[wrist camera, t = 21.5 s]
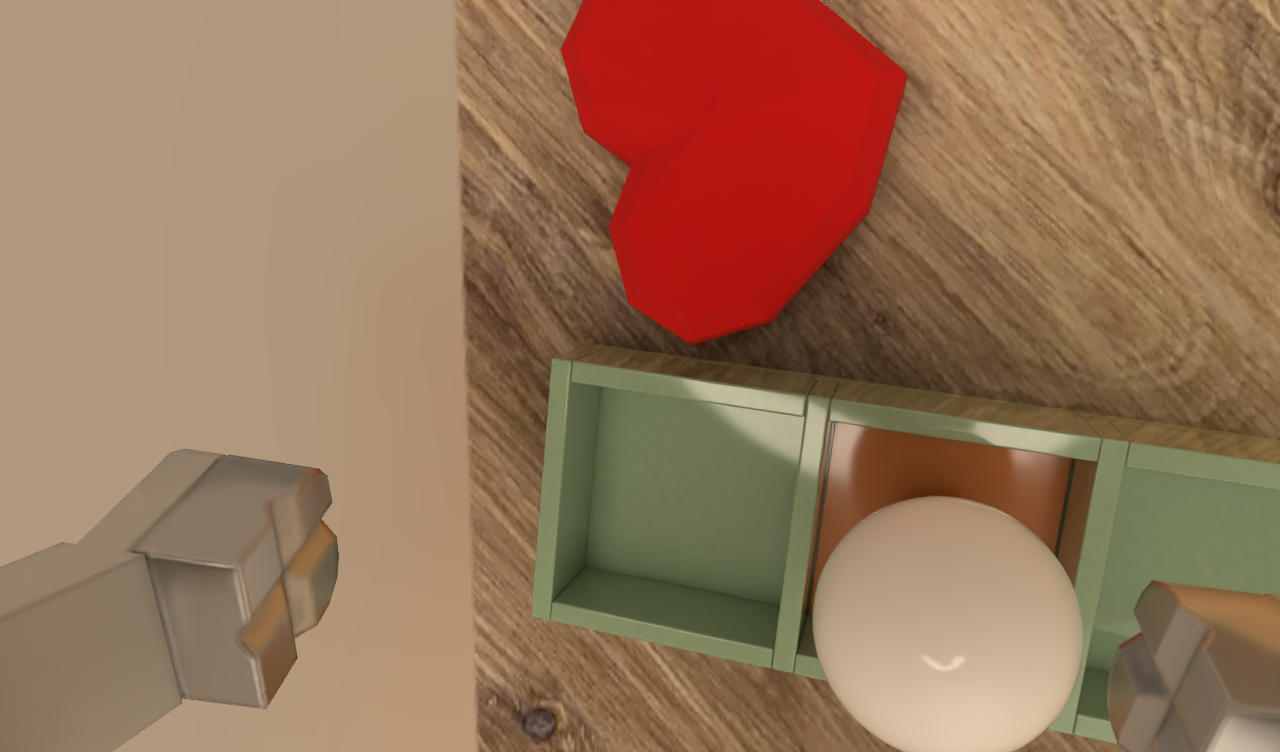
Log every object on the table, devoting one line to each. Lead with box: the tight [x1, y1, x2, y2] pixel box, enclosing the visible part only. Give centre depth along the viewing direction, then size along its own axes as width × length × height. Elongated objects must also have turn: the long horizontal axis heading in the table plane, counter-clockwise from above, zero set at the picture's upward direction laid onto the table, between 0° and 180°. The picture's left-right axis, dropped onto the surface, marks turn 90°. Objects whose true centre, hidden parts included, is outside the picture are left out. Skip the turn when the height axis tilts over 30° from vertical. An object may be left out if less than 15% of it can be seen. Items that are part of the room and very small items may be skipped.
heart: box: [561, 0, 908, 345], centre depth 30 cm, size 12×4×10 cm
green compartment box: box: [531, 343, 1280, 744], centre depth 30 cm, size 25×9×4 cm, turn 84°
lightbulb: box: [813, 496, 1084, 752], centre depth 26 cm, size 6×6×11 cm
